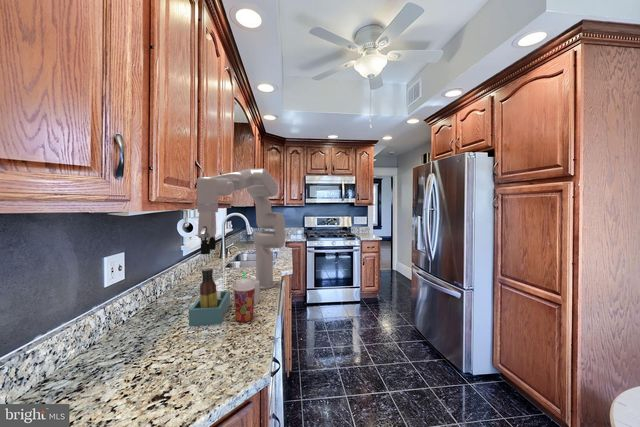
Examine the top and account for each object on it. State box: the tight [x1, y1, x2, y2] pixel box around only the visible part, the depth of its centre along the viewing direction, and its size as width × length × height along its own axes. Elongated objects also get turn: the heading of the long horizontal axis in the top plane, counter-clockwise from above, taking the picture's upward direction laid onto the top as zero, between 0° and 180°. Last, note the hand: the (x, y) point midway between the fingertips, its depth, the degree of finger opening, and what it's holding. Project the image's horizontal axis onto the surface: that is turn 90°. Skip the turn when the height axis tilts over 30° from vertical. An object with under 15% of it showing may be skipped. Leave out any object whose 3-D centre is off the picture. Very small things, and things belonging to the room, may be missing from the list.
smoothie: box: [232, 270, 255, 323], centre depth 108 cm, size 8×8×20 cm
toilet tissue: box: [232, 278, 261, 305], centre depth 128 cm, size 11×12×10 cm
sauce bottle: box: [199, 267, 218, 308], centre depth 109 cm, size 6×6×20 cm
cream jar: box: [217, 290, 221, 299], centre depth 118 cm, size 5×5×7 cm
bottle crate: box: [188, 290, 231, 327], centre depth 113 cm, size 22×11×7 cm, turn 9°
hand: (208, 251), depth 108 cm, fingers open, 9 cm apart
